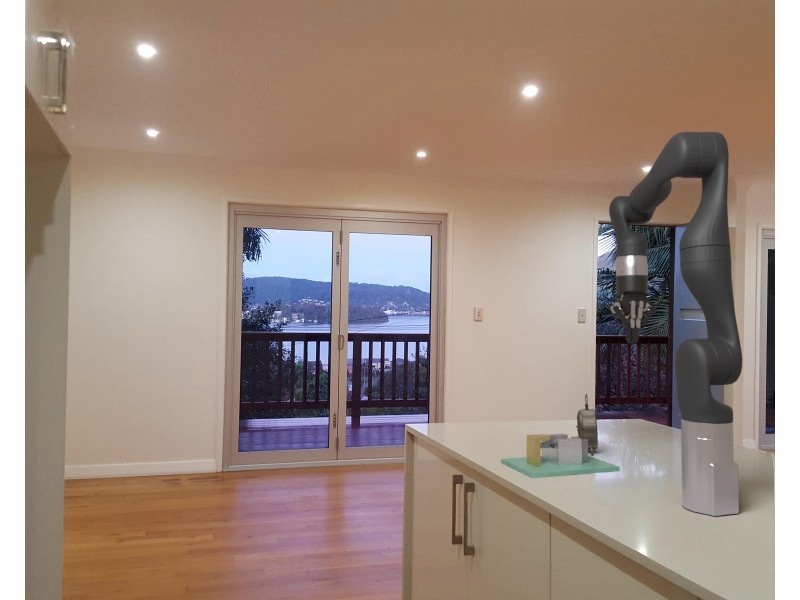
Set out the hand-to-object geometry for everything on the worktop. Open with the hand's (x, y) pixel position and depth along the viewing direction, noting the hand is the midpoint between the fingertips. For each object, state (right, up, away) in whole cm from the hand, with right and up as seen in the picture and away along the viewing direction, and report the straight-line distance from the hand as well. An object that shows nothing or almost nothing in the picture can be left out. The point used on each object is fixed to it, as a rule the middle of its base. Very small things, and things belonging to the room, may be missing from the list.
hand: (632, 343), depth 156 cm
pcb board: (-19, -31, 0) cm, 36 cm away
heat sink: (-17, -30, 0) cm, 34 cm away
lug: (-24, -30, -2) cm, 39 cm away
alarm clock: (-6, -32, +17) cm, 37 cm away
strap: (-18, -26, 0) cm, 32 cm away
